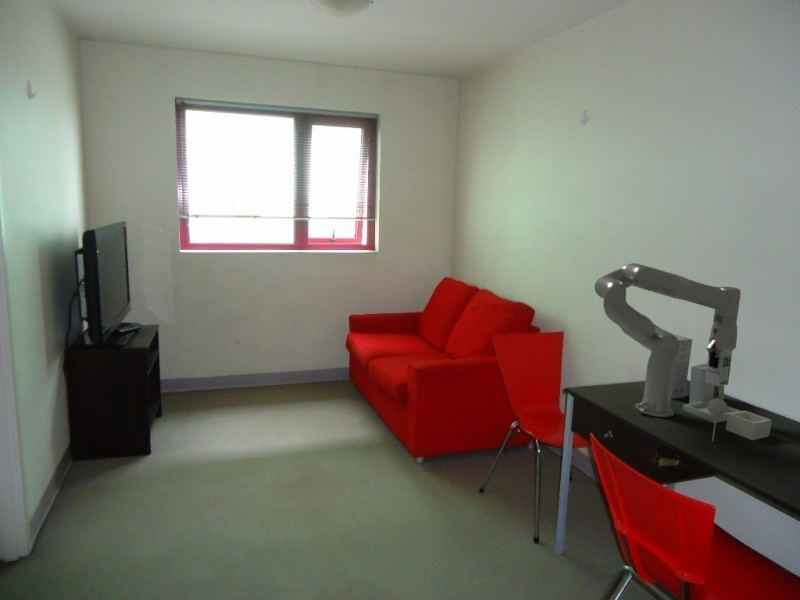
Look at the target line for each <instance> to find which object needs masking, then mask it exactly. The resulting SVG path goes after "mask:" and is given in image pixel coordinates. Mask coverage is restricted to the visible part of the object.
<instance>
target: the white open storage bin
mask: <svg viewBox="0 0 800 600" xmlns="http://www.w3.org/2000/svg"><path fill="white" fill-rule="evenodd" d="M772 422H773V420H772V419H770V418H768V417H765V416H761V415H760V414H759V415H758V414H756V413H752V412H750V411H748V410H740V412H735V413H730V414H728V419H727V421H726V427H725V430H726V431H728V432H731V433H733V434H736V435H738V436H741V437H743V438H746V439H748V440H751V441H755V440H759V439H762V438H763V439H764V438H767V437H769V436H770V435H771V434H770V433H771V427H772Z"/></svg>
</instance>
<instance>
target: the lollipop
mask: <svg viewBox="0 0 800 600" xmlns="http://www.w3.org/2000/svg"><path fill="white" fill-rule="evenodd" d="M727 406H728V404H727V402H726V401H724V399H717V398H716V399H712V400H710V401H709V403H708V410H709V412H710V413H711V414H712V415H714V416H715V423H713V431H712V439H711V442H714V439H715V433H716V428H717V427H716V426H717V423H716V420H717V416H722V415H724V414H725V413H726V412H727V410H728V407H727Z"/></svg>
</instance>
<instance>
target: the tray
mask: <svg viewBox="0 0 800 600" xmlns="http://www.w3.org/2000/svg"><path fill="white" fill-rule="evenodd" d="M709 401H710V400H707V401H704V402H696V403H691V404H689V403H687V404H683V405H682V406H683V407H682V412H684V413H688V415H691V416H695V417H697V418H700V419H702V420H704V421H707V422H710V423H713V424H714V423H715V416H714V415H712V414H711V413H710V412H709V410H708V403H709ZM727 407H728V410H727V412H726V413H725V414H724V415H722V416H717V420H716V424H717V423H721V422H727V419H728V414H730V413H735V412H740V411H741V410H740V409H737V408H734V407H731V406H729V405H727Z"/></svg>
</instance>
